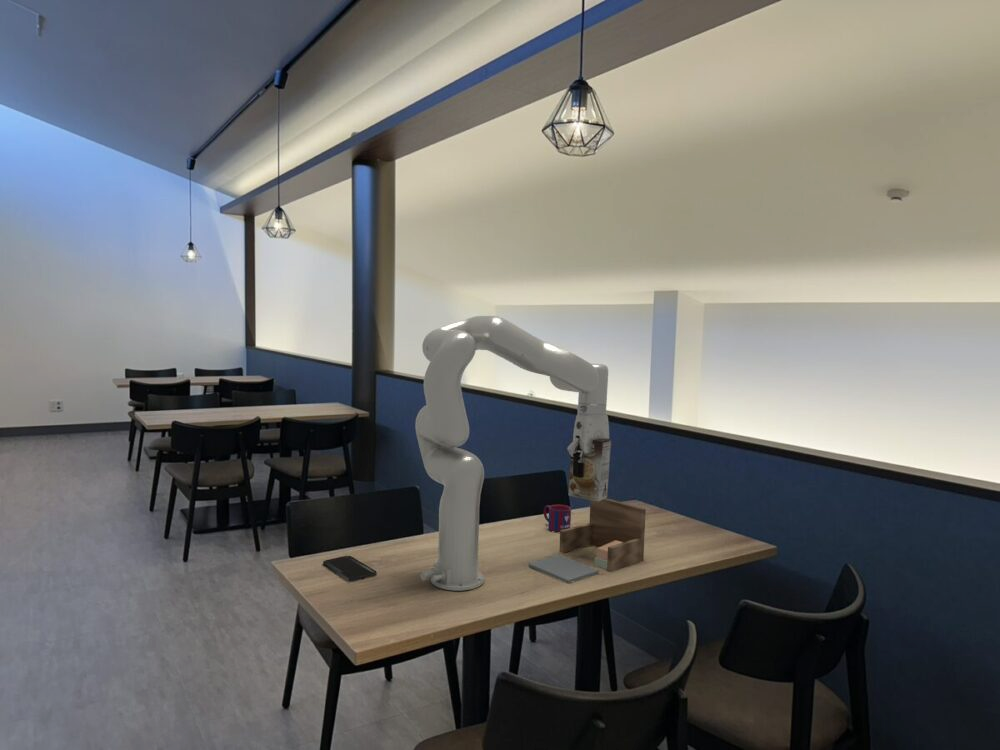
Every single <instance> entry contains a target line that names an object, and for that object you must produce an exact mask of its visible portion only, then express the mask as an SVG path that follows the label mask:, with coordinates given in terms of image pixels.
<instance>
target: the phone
mask: <svg viewBox="0 0 1000 750" xmlns="http://www.w3.org/2000/svg"><path fill="white" fill-rule="evenodd" d="M322 566H324V567H325V569H328V570H330V571H331V572H332V573H334V574H335V575H336V576H338V577H339V578H341V579H343V580H344V581H345V582H349V583H355V582H357V581H362V580H366V579H369V578H373V577H374V578H375V577H376V576H377V571H376V570H375V569H373V568H372V567H370V566H368V565H367V564H365V563H364V562H362V561H360V560H358V559H357V558H355V557H354V556H351V555H343V556H339V557H333V558H330V559H325V560H323V561H322Z"/></svg>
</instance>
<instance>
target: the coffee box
mask: <svg viewBox="0 0 1000 750" xmlns="http://www.w3.org/2000/svg"><path fill="white" fill-rule="evenodd" d="M571 440H572V442H573V437H571ZM572 442H571V443H572ZM611 446H612V439H611V438H609V439H595V440H593V441H592V453H591V454H585V457H584V459H583V461H582V463H584V472H583V478H579V477H575V476H573V462H574V461H572V458H571V457H570V466H569V467H570V469H569V480H568V481H569V482H568V486H569V487H568V496H570V497H573V498H579V499H583V500H589V501H590V500H593V501H601V500H603V499H605V498H608V489H609V476H610V475H609V474H610V460H611V449H612V448H611ZM577 447H578V450H581V448H580V444H579V445H578V446H577ZM577 447H576V448H577ZM576 448H575V449H576ZM578 456H579V457H580V454H579V453H578Z"/></svg>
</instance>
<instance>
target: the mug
mask: <svg viewBox="0 0 1000 750" xmlns="http://www.w3.org/2000/svg"><path fill="white" fill-rule="evenodd" d="M547 509H548V515H547ZM571 516H572V508H571V506H568V505H566V504H565V505H564V504H551V505H549V504H548V505H545V506H544V508H543V517H544V518H545V520H546V522H547V525H548V526H547V527H548V530H549V531H550V530H551V532H552V531H554V532H553V533H557V532H560V530H564V529H568V528H571V520H572V517H571Z"/></svg>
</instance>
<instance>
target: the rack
mask: <svg viewBox="0 0 1000 750" xmlns="http://www.w3.org/2000/svg"><path fill="white" fill-rule="evenodd" d="M589 501H590V502H589V523H585V524H580V525H577V526H571V527H570V528H568V529H564V530H560V533H559V553H562V554H565V553H567V552H568V551H569V552H571V550H572V551H575V550H579V549H582V548H585V546H586V547H589V546H594V547H597V548H599V547H601V546H603V545H606V544H608V543H611V542H613V541H615V540H617V541H620V542H623V543H620V544H617V545H613V546H610V547H608V558H607V569H606V571H608V572H614V571H617V570H619V569H622V568H626V567H628V566H631V565H634V564H637V563H641V562H643V561H644V554H645V553H644V552H645V534H646V533H645V531H646V530H645V529H646V512H647V511H646V508H644V507H640V506H636V505H633V504H629V503H625V502H621V501H618V500H615V499H611V498H608V497H607V498H605V499H603V500H601V501H593V500H589ZM578 548H579V549H578ZM574 549H575V550H574Z"/></svg>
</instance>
